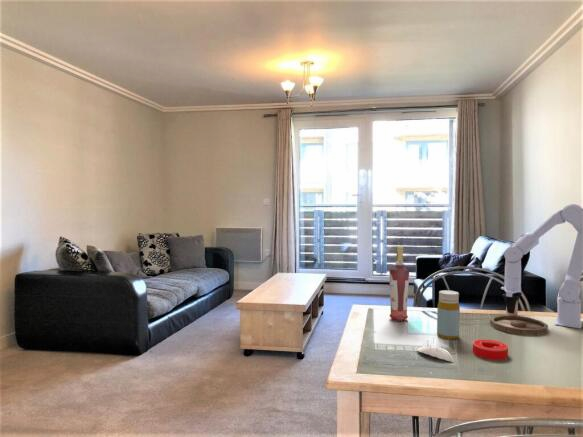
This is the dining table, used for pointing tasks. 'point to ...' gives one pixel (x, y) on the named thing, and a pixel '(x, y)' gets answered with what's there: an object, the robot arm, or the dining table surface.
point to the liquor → (399, 288)
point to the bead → (514, 311)
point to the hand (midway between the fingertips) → (511, 311)
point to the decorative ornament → (490, 349)
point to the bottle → (448, 314)
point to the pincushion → (436, 352)
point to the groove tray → (519, 325)
